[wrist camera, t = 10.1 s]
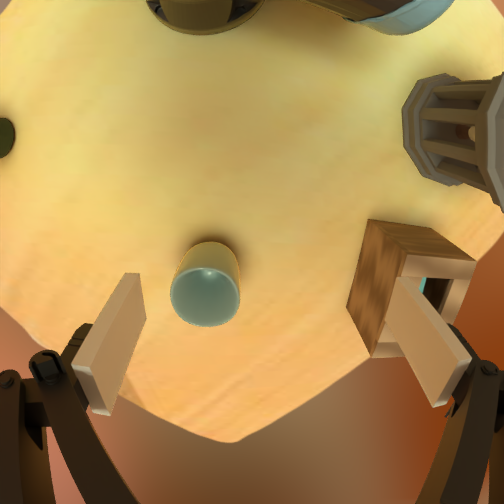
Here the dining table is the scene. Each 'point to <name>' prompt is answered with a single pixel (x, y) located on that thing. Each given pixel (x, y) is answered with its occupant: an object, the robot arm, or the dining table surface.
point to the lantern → (457, 132)
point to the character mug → (5, 136)
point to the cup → (206, 285)
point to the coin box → (404, 265)
